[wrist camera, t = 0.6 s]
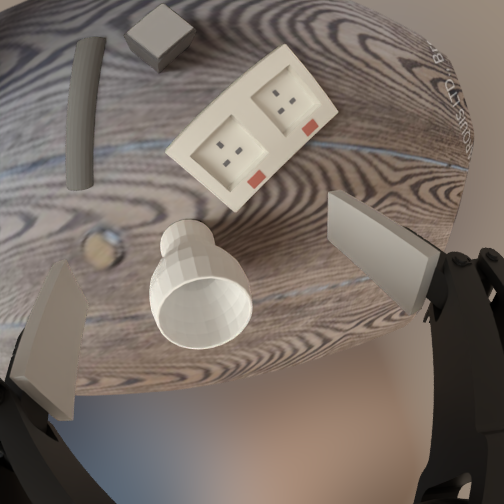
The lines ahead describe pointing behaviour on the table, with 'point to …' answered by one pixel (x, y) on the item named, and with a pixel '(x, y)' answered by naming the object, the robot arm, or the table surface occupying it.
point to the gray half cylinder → (82, 113)
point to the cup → (198, 289)
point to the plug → (160, 37)
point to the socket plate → (253, 127)
